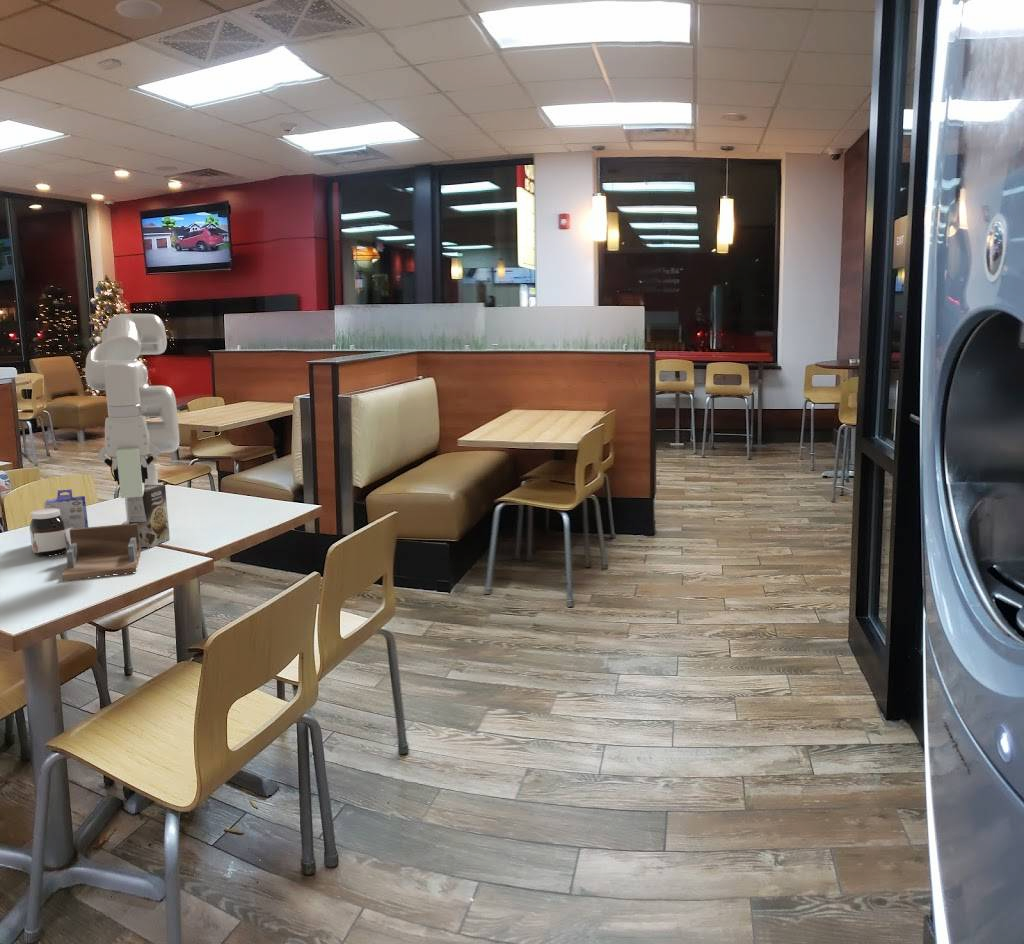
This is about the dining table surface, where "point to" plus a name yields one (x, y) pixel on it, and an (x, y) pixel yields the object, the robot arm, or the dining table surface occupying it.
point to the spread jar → (48, 532)
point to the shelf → (102, 551)
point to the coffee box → (150, 515)
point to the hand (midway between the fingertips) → (131, 482)
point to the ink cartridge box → (70, 509)
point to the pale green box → (130, 472)
